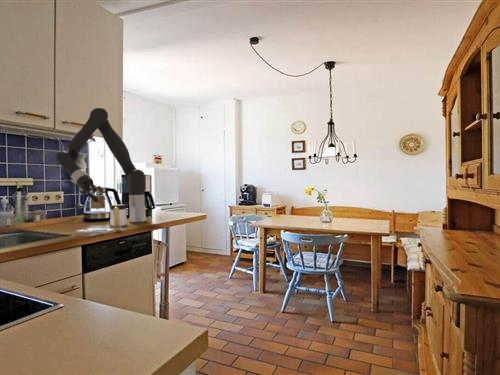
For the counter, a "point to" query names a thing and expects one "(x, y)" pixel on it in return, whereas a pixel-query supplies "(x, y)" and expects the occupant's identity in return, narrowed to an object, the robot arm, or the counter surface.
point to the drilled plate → (95, 231)
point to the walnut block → (98, 202)
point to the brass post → (116, 219)
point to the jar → (121, 214)
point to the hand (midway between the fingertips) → (100, 200)
